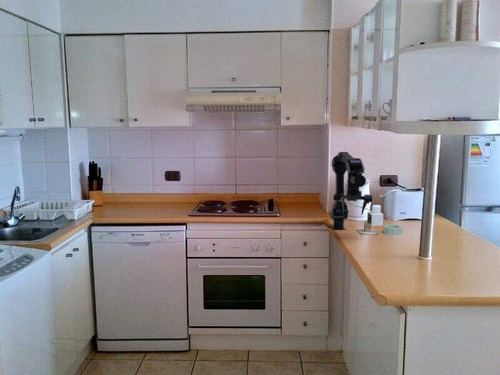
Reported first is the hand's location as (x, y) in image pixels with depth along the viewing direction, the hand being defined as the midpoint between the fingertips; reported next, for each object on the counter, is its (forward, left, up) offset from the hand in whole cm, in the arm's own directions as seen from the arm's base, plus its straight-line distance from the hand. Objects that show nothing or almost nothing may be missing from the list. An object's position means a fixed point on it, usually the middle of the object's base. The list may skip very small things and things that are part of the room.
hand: (352, 214), depth 219 cm
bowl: (-14, +25, -14) cm, 31 cm away
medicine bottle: (-35, +21, -14) cm, 43 cm away
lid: (-16, +12, -13) cm, 23 cm away
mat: (-16, +12, -14) cm, 24 cm away
